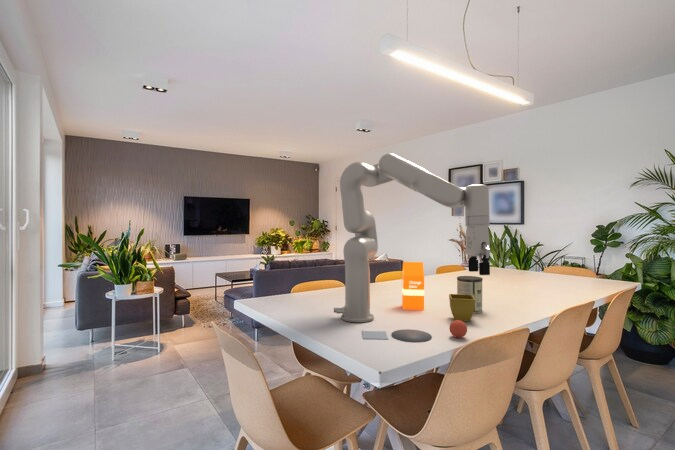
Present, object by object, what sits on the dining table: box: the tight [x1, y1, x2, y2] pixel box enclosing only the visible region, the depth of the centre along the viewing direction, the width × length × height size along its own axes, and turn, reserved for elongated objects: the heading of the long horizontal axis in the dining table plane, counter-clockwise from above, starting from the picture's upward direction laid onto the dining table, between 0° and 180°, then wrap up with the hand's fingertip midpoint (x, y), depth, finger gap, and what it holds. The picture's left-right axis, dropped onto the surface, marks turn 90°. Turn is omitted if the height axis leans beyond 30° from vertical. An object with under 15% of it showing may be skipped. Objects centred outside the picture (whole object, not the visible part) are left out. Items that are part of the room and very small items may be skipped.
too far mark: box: [361, 330, 389, 340], centre depth 121 cm, size 8×8×1 cm
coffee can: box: [456, 275, 484, 314], centre depth 156 cm, size 10×10×14 cm
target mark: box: [390, 328, 433, 343], centre depth 121 cm, size 13×13×1 cm
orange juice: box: [401, 261, 425, 311], centre depth 161 cm, size 8×9×20 cm
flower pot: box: [448, 293, 475, 322], centre depth 141 cm, size 9×9×9 cm
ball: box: [448, 319, 468, 339], centre depth 119 cm, size 6×6×6 cm
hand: (478, 273), depth 122 cm, fingers open, 9 cm apart
